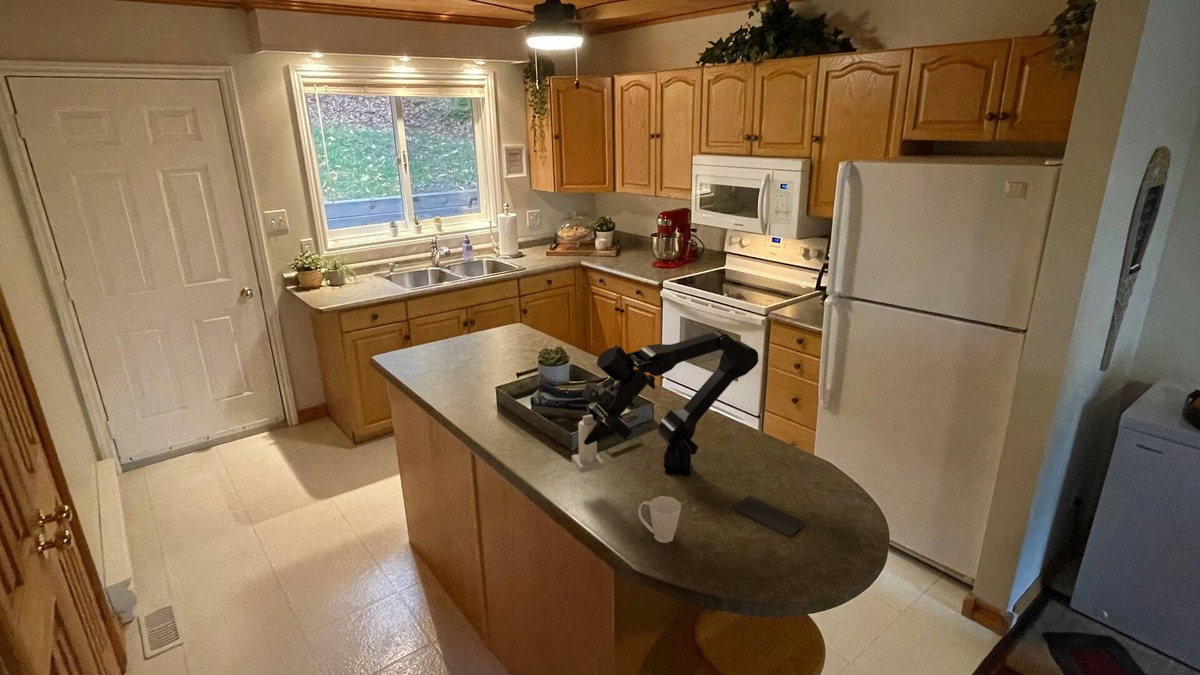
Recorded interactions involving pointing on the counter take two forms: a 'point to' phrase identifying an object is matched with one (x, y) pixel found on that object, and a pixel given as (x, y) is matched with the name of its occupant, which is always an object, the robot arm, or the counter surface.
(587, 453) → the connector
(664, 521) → the cup
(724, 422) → the counter surface
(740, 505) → the phone
